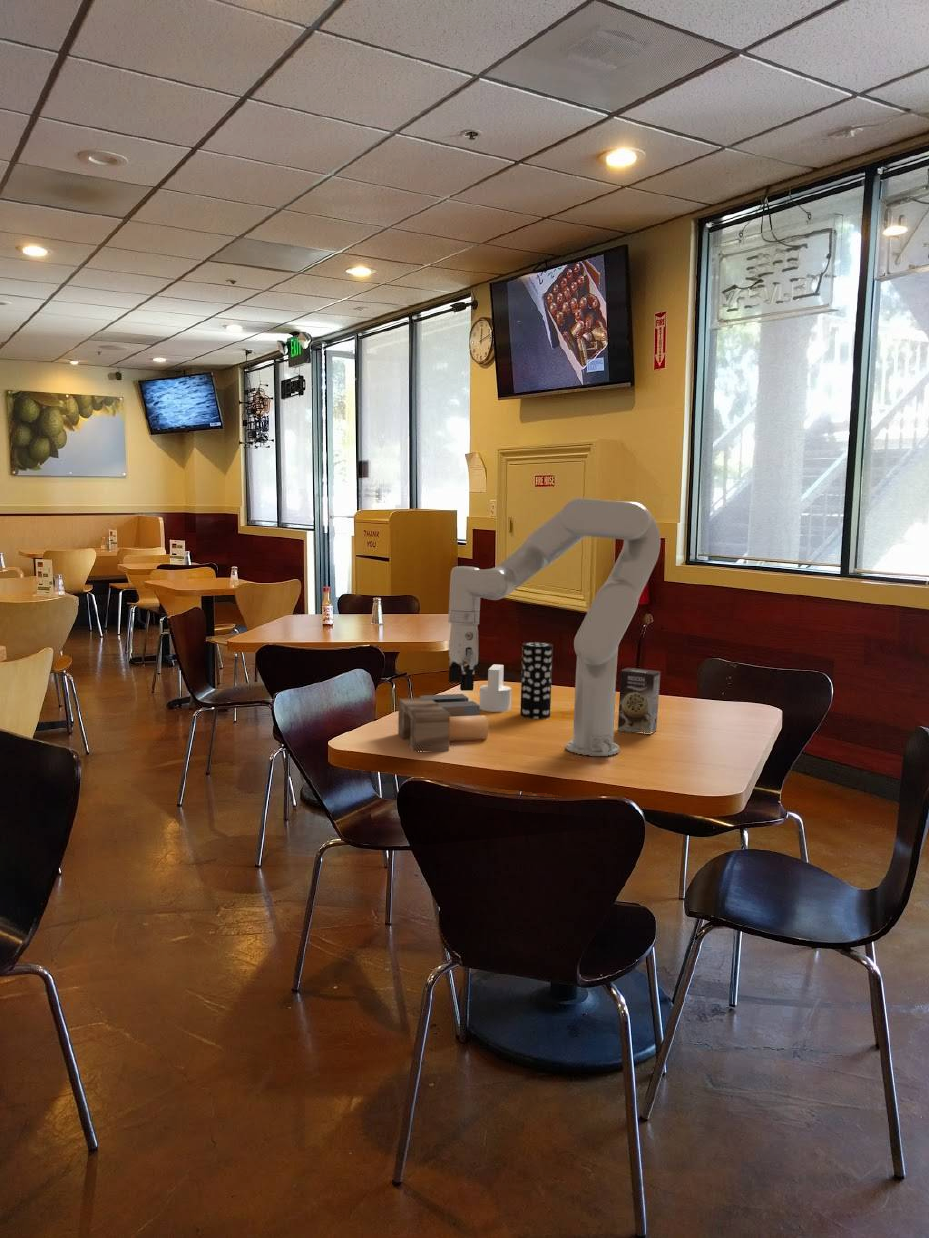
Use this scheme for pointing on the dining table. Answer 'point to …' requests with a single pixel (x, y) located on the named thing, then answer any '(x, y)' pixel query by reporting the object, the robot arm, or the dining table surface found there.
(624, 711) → the coffee box
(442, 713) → the beam
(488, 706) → the base with upright slab
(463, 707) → the v block
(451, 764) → the dining table surface
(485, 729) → the tan cylinder
